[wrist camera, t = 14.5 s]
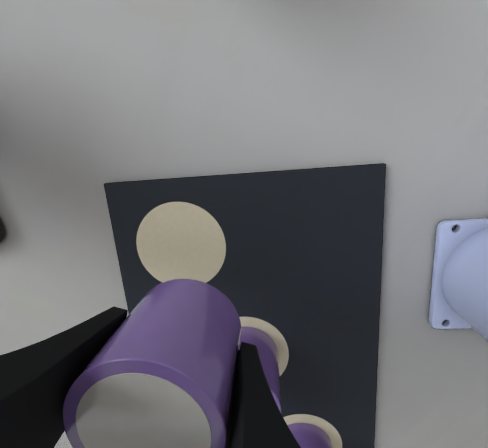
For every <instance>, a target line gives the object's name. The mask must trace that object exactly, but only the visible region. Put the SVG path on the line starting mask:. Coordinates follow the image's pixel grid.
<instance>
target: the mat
mask: <svg viewBox="0 0 488 448" xmlns="http://www.w3.org/2000/svg"><path fill="white" fill-rule="evenodd" d="M385 171H386V164H384V163H382V164H368V165H354V166H340V167H326V168H312V169H298V170H284V171H270V172H255V173H241V174H227V175H213V176H199V177H185V178H171V179H157V180H143V181H129V182H115V183H105V184H104V187H105V193H106V198H107V203H108V208H109V213H110V218H111V224H112V229H113V234H114V239H115V244H116V250H117V255H118V260H119V265H120V270H121V275H122V281H123V286H124V291H125V296H126V301H127V306H128V312H129V314H130V313H131V312H132V310H133V309H134V308H135V307H136V306H137V304H138V303H139V302H140V301H141V300H142V298H143V297H144V296H145V295H146V294H147V293H148V292H149V291H150V290H151V289H152V288H154V287H155V286H157V285H159V284H161V283H163V282H166V281H169V280H174V279H193V280H198V281H202V282H204V283H207V284H209V285H211V286H213V287H215V288H217V289H218V290H219V291H221V292H222V293H223V294H224V295H225V296H226V297H227V298H228V299H229V300H230V301H231V302H232V304H233V305H234V307H235V308H236V310H237V313H238V315H239V318H240V321H241V327H243V326H247V327H254V328H257V329H260V330H262V331H263V332H265V333H266V334H268V335H269V336H270V337H271V338H272V339H273V341H274V342H275V344H276V346H277V349H278V355H279V375H280V395H281V414H282V416H283V418H284V420H285V422H286V424H287V425H290V424H293V423H308V424H312V425H315V426H317V427H319V428H321V429H322V430H323V431H324V432H326V434H327V435H328V436H329V438H330V440H331V443H332V447H333V448H374V439H375V415H376V390H377V366H378V342H379V317H380V293H381V269H382V244H383V220H384V196H385Z"/></svg>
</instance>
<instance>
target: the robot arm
mask: <svg viewBox="0 0 488 448" xmlns="http://www.w3.org/2000/svg"><path fill="white" fill-rule="evenodd" d="M454 225H456V229H455V230H453V231H452V227H453V226H454ZM127 311H128V310H124V309H121V308H117V307H112V308H110V309H108V310H106V311H104V312H102V313H100V314H98V315H96V316H94V317H92V318H91V319H89V320H87V321H85V322H83V323H81V324H79V325H77V326H74V327H72V328H70V329H68V330H66V331H64V332H61V333H59V334H57V335H55V336H52V337H50V338H48V339H46V340H43V341H41V342H38V343H35V344H33V345H30V346H27V347H25V348H22V349H19V350H16V351H13V352H10V353H7V354H3V355H0V448H54V446H55V445H56V443H57V442H58V440H59V438H60V437H61V435H62V434H63V432H64V431H65V428H64V424H63V405H64V401H65V398H66V395H67V392H68V390H69V388H70V387H71V385H72V384H73V382H74V381H75V380H76V379H77V377H78V376H79V375H80V374H81V372H82V371H83V370H84V369H85V368H86V366H87V365H88V364H89V363H90V362H91V360H92V359H93V358H94V357H95V355H96V354H97V353H98V352H99V351H100V349H101V348H102V347H103V346H104V345H105V343H106V342H107V341H108V340H109V338H110V337H111V336H112V335H113V334H114V332H115V331H116V330H117V329H118V327H119V326H120V325H121V324H122V323H123V321H124V320H125V319H126V317H127ZM444 320H447V321H446V322H445V323H442V322H443V321H444ZM429 324H430V325H431V326H432V327H433V328H435V329H464V328H474V329H475V330H476V331H477V332H478V333H480V334H481V335H482V336H483V337H484V338H485V339H486V340H487V341H488V218H481V219H462V220H445V221H442V222H440V223H439V224H438V226H437V231H436V243H435V254H434V266H433V277H432V289H431V300H430V311H429ZM226 448H301V447H300V445H299V444H298V442H297V441H296V439H295V438H294V436H293V434H292V432H291V431H290V429H289V427H288V425H287V424H286V422H285V420H284V418H283V416H282V414H281V412H280V410H279V408H278V406H277V404H276V401H275V399H274V397H273V395H272V392H271V390H270V387H269V384H268V382H267V379H266V376H265V374H264V371H263V368H262V364H261V361H260V358H259V354H258V349H257V347H256V345H253V344H249V343H245V342H241V345H240V349H239V354H238V361H237V369H236V377H235V385H234V392H233V399H232V407H231V414H230V421H229V428H228V436H227V443H226Z"/></svg>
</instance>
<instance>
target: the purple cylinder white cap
mask: <svg viewBox="0 0 488 448" xmlns="http://www.w3.org/2000/svg"><path fill="white" fill-rule="evenodd" d="M241 334H242V329H241V321H240V318H239V315H238V313H237V310H236V308H235V307H234V305H233V304H232V302H231V301H230V300H229V299H228V298H227V297H226V296H225V295H224V294H223V293H222V292H221V291H219V290H218V289H217V288H215V287H213V286H211V285H209V284H207V283H204V282H202V281H198V280H193V279H174V280H169V281H166V282H163V283H161V284H159V285H157V286H155V287H154V288H152V289H151V290H150V291H149V292H148V293H147V294H146V295H145V296H144V297H143V298H142V300H141V301H140V302H139V303H138V304H137V306H136V307H135V308H134V309H133V310H132V312H131V313H130V314H129V315H128V317H127V318H126V319H125V320H124V321H123V323H122V324H121V325H120V326H119V327H118V329H117V330H116V331H115V332H114V334H113V335H112V336H111V337H110V338H109V340H108V341H107V342H106V343H105V345H104V346H103V347H102V348H101V349H100V351H99V352H98V353H97V354H96V355H95V357H94V358H93V359H92V360H91V362H90V363H89V364H88V365H87V366H86V368H85V369H84V370H83V371H82V372H81V374H80V375H79V376H78V377H77V379H76V380H75V381H74V382H73V384H72V385H71V387H70V388H69V390H68V392H67V395H66V398H65V401H64V405H63V424H64V428H65V432H66V435H67V437H68V440H69V441H70V443H71V445H72V447H73V448H226V443H227V436H228V428H229V421H230V414H231V407H232V399H233V392H234V385H235V377H236V369H237V361H238V354H239V349H240V341H241Z"/></svg>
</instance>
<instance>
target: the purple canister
mask: <svg viewBox="0 0 488 448" xmlns="http://www.w3.org/2000/svg"><path fill="white" fill-rule="evenodd" d="M288 427H289V429H290V431H291V432H292V434H293V436H294V438H295V439H296V441H297V442H298V444H299V445H300V447H301V448H333V447H332V443H331V440H330V438H329V436H328V435H327V434H326V432H324V431H323V430H322V429H321V428H319V427H317V426H315V425H312V424H308V423H293V424H290V425H288Z"/></svg>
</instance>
